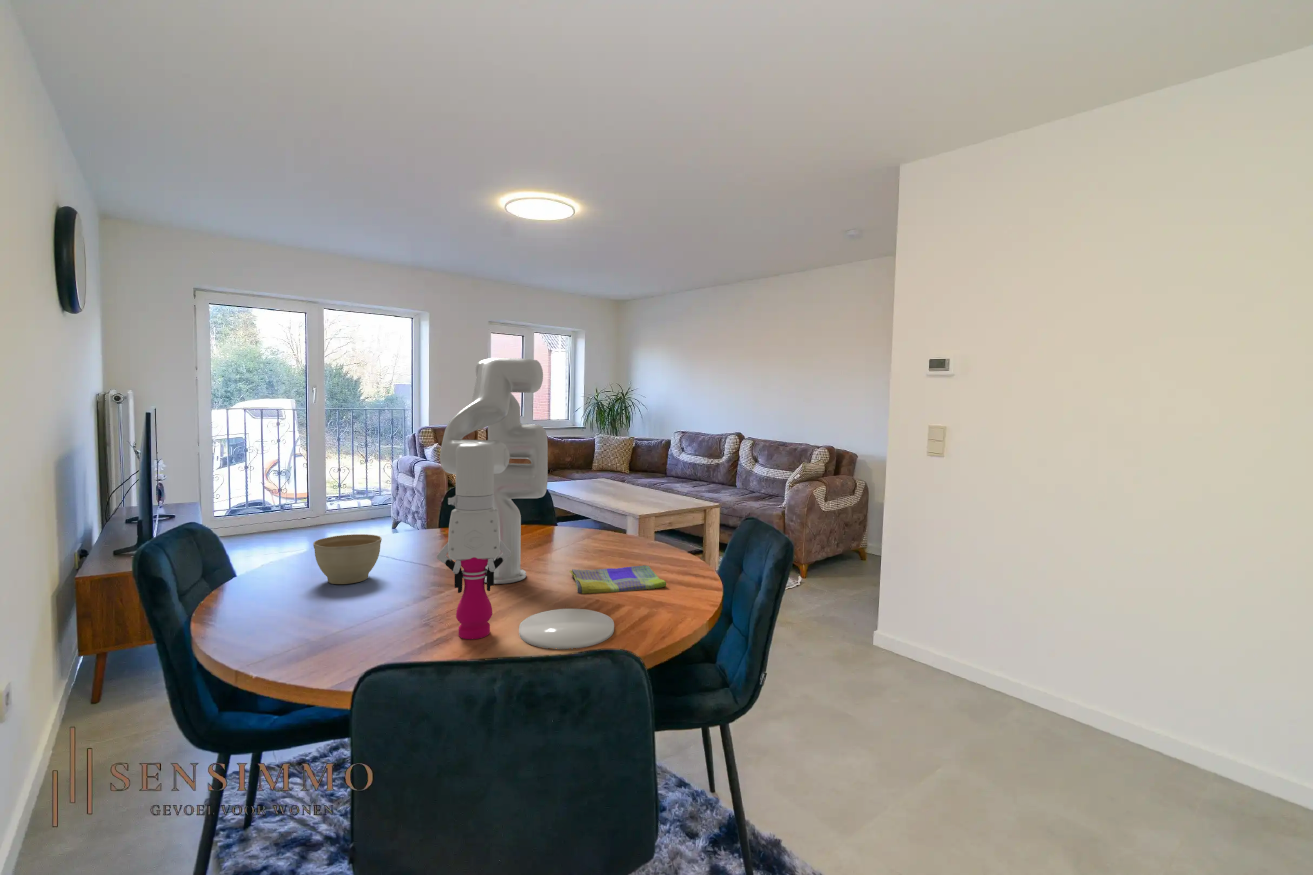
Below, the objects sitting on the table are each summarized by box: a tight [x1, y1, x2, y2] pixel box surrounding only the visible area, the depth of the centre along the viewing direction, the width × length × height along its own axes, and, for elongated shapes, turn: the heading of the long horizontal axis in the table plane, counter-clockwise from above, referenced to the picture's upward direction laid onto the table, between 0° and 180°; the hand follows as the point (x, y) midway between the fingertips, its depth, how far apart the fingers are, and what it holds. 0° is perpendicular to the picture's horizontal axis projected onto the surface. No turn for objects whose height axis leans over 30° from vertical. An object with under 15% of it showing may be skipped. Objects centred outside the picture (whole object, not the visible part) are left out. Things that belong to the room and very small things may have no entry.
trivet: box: [518, 608, 615, 650], centre depth 126 cm, size 20×20×1 cm
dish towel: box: [569, 565, 667, 595], centre depth 161 cm, size 18×24×3 cm
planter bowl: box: [312, 533, 383, 585], centre depth 158 cm, size 16×16×11 cm
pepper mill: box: [455, 557, 493, 640], centre depth 122 cm, size 7×7×20 cm
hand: (474, 589), depth 122 cm, fingers closed on pepper mill, 5 cm apart
